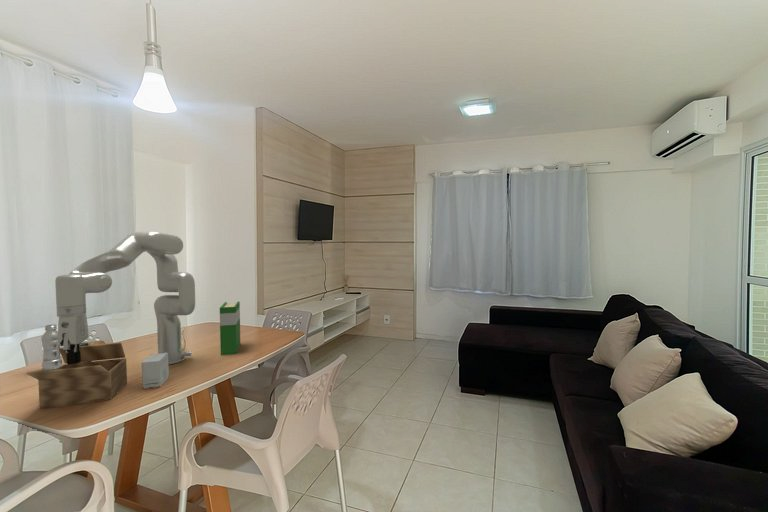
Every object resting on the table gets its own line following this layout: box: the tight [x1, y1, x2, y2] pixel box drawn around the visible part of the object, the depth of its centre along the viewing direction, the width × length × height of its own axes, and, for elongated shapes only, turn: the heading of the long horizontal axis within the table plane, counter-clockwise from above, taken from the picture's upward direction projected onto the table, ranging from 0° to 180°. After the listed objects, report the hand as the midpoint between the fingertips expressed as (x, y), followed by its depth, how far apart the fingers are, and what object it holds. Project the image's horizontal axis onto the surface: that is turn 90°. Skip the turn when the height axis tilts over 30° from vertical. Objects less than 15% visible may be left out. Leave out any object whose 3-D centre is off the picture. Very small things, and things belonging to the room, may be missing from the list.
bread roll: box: [87, 339, 107, 345], centre depth 171 cm, size 10×15×8 cm, turn 29°
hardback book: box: [219, 301, 241, 356], centre depth 181 cm, size 18×7×24 cm, turn 17°
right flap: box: [59, 342, 126, 364], centre depth 133 cm, size 19×8×1 cm
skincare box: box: [141, 353, 170, 389], centre depth 138 cm, size 10×6×10 cm, turn 16°
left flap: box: [26, 365, 109, 380], centre depth 116 cm, size 19×8×1 cm
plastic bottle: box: [40, 324, 63, 371], centre depth 153 cm, size 6×7×20 cm
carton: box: [37, 357, 128, 410], centre depth 127 cm, size 20×16×10 cm
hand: (74, 363), depth 119 cm, fingers closed
